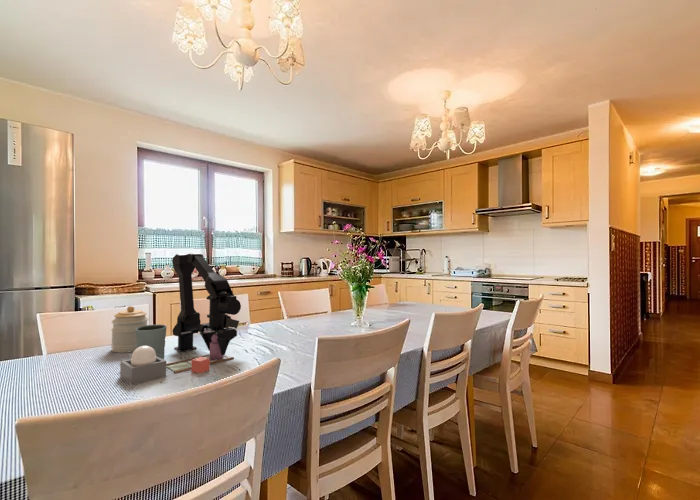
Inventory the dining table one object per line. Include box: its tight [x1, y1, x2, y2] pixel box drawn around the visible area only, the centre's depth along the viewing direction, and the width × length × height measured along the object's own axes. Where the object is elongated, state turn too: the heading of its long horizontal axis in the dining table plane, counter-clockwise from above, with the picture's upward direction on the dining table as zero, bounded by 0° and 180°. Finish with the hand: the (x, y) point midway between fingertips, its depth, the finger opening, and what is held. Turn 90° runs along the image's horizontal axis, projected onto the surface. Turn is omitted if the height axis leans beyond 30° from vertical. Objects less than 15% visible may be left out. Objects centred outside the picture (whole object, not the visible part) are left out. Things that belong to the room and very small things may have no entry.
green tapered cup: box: [135, 324, 168, 359], centre depth 132 cm, size 10×10×12 cm
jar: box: [110, 305, 149, 353], centre depth 145 cm, size 13×13×18 cm
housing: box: [119, 356, 167, 386], centre depth 113 cm, size 10×10×5 cm
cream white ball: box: [130, 346, 156, 367], centre depth 113 cm, size 7×7×7 cm
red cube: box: [191, 357, 211, 374], centre depth 120 cm, size 4×4×4 cm
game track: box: [166, 353, 235, 374], centre depth 129 cm, size 11×22×1 cm, turn 140°
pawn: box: [209, 333, 224, 361], centre depth 134 cm, size 5×5×10 cm
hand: (216, 352), depth 134 cm, fingers open, 9 cm apart
